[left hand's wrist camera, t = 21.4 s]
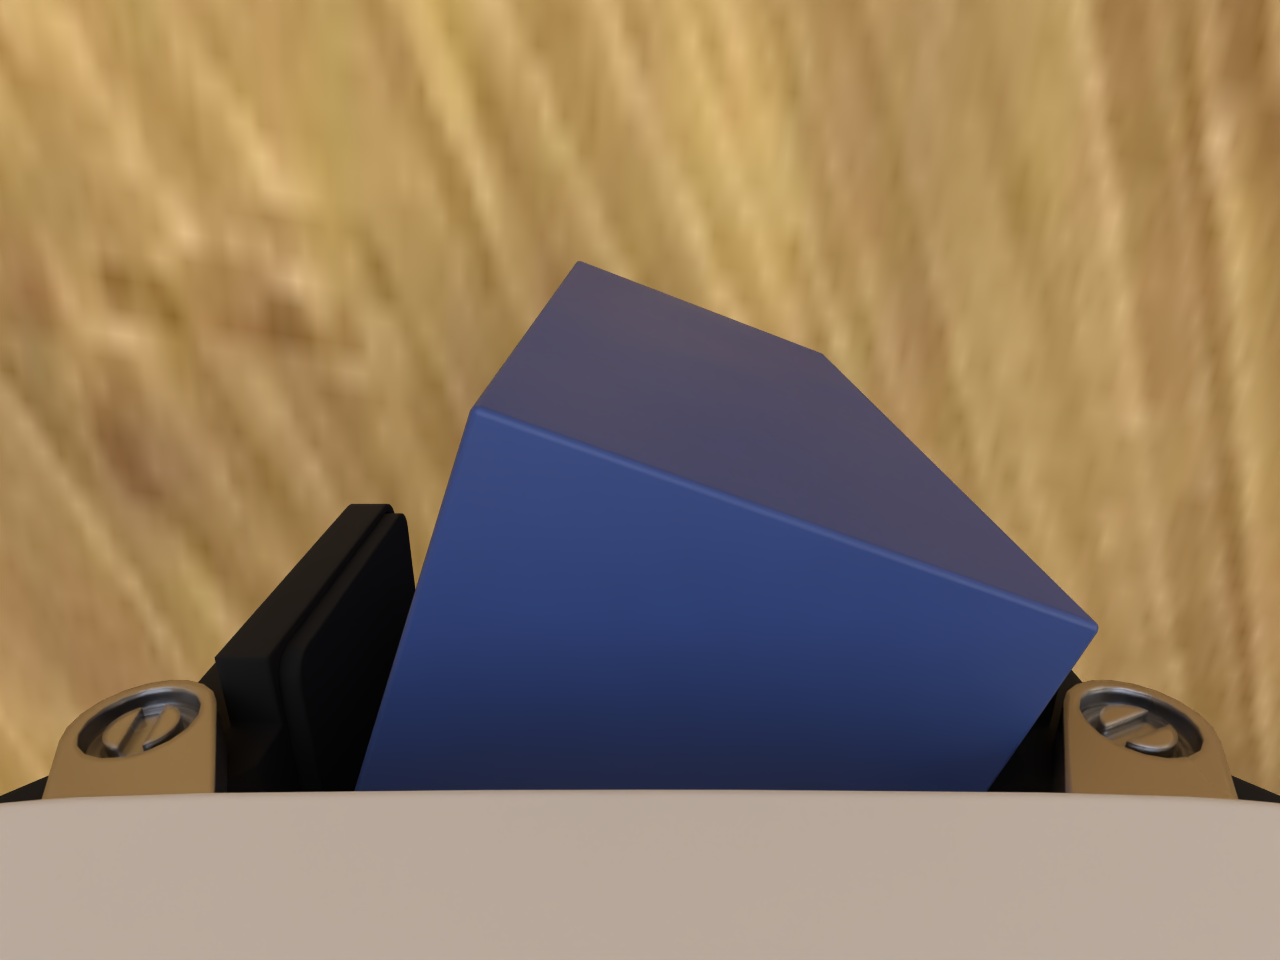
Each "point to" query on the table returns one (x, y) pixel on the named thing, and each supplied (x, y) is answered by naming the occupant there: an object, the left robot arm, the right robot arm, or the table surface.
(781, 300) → the table surface
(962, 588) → the block
